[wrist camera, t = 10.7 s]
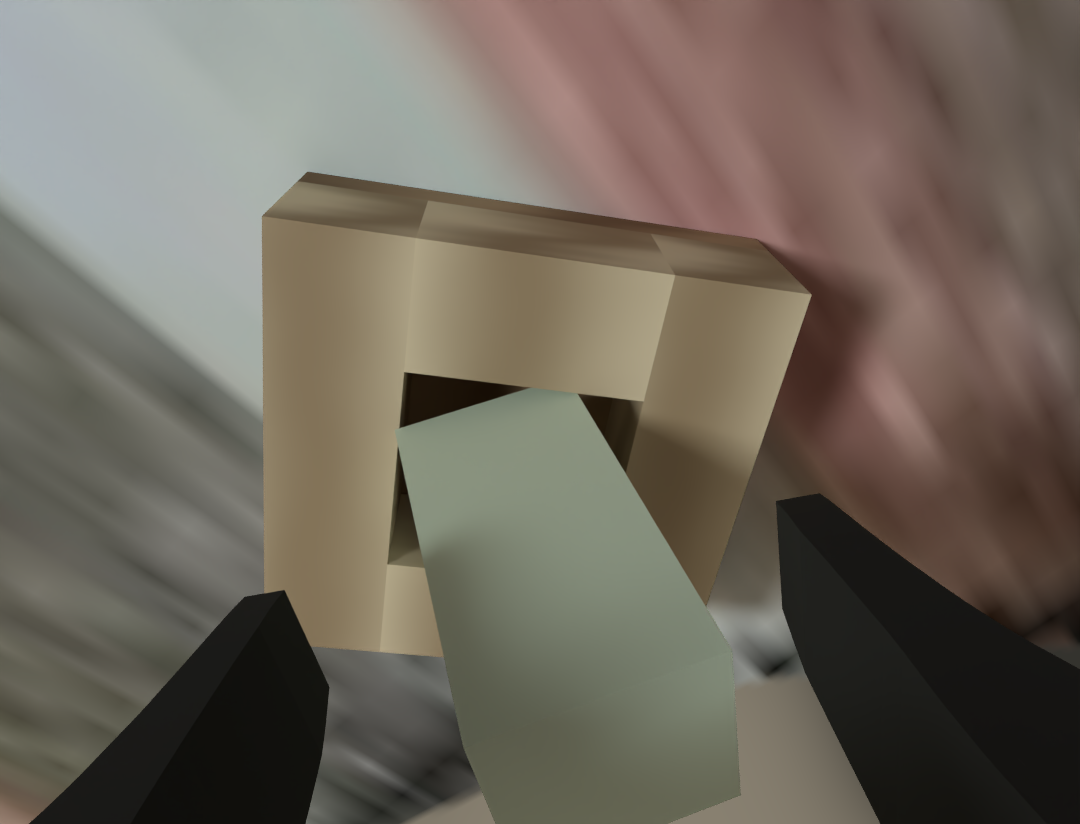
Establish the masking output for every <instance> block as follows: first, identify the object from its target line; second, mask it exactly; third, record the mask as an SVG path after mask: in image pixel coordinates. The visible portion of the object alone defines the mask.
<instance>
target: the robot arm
mask: <svg viewBox="0 0 1080 824" xmlns="http://www.w3.org/2000/svg"><path fill="white" fill-rule="evenodd" d="M776 507H777V524H778V542H779V559H780V576H781V593H782V609H783V612H784V615H785V618H786V620H787V623H788V626H789V629H790V632H791V635H792V638H793V640H794V643H795V646H796V649H797V651H798V654H799V657H800V660H801V662H802V665H803V668H804V670H805V673H806V675H807V677H808V679H809V681H810V684H811V686H812V687H813V690H814V692H815V694H816V695H817V698H818V700H819V702H820V704H821V706H822V708H823V710H824V712H825V714H826V716H827V718H828V720H829V722H830V724H831V726H832V728H833V730H834V732H835V734H836V736H837V738H838V740H839V742H840V744H841V746H842V748H843V750H844V752H845V754H846V756H847V758H848V760H849V762H850V764H851V766H852V768H853V770H854V772H855V774H856V776H857V778H858V780H859V782H860V784H861V786H862V788H863V790H864V792H865V794H866V796H867V798H868V800H869V802H870V804H871V806H872V808H873V810H874V812H875V814H876V816H877V818H878V820H879V822H880V824H1080V669H1078V668H1077V667H1075V666H1073V665H1071V664H1069V663H1067V662H1066V661H1064V660H1062V659H1060V658H1058V657H1056V656H1055V655H1053V654H1051V653H1049V652H1047V651H1046V650H1044V649H1042V648H1040V647H1038V646H1036V645H1035V644H1033V643H1031V642H1029V641H1028V640H1026V639H1024V638H1023V637H1021V636H1019V635H1018V634H1016V633H1014V632H1012V631H1011V630H1009V629H1007V628H1006V627H1004V626H1003V625H1001V624H1000V623H998V622H996V621H995V620H993V619H992V618H990V617H989V616H987V615H985V614H984V613H982V612H981V611H979V610H978V609H976V608H974V607H973V606H971V605H970V604H968V603H967V602H965V601H964V600H962V599H961V598H959V597H958V596H956V595H955V594H954V593H952V592H951V591H949V590H948V589H946V588H945V587H943V586H942V585H941V584H939V583H938V582H936V581H935V580H934V579H932V578H931V577H929V576H928V575H927V574H925V573H924V572H922V571H921V570H920V569H918V568H917V567H915V566H914V565H913V564H911V563H910V562H908V561H907V560H906V559H904V558H903V557H902V556H900V555H899V554H898V553H896V552H895V551H894V550H892V549H891V548H890V547H888V546H887V545H886V544H884V543H883V542H882V541H880V540H879V539H878V538H877V537H875V536H874V535H873V534H871V533H870V532H869V531H867V530H866V529H865V528H864V527H862V526H861V525H860V524H859V523H857V522H856V521H855V520H854V519H852V518H851V517H850V516H848V515H847V514H846V513H845V512H843V511H842V510H841V509H840V508H838V507H837V506H836V505H835V504H833V503H832V502H831V501H829V500H828V499H827V498H825V497H824V496H823V495H821V494H820V493H819V494H813V495H807V496H802V497H796V498H791V499H785V500H780V501H776ZM328 695H329V685H328V683H327V681H326V679H325V677H324V674H323V672H322V670H321V668H320V666H319V664H318V661H317V659H316V657H315V655H314V653H313V651H312V648H311V646H310V644H309V642H308V640H307V638H306V635H305V633H304V631H303V629H302V627H301V625H300V622H299V620H298V618H297V616H296V614H295V611H294V609H293V607H292V605H291V603H290V601H289V598H288V596H287V594H286V592H285V590H281V591H275V592H270V593H264V594H259V595H253V596H247V597H244V598H243V599H242V600H241V601H240V602H239V603H238V604H237V605H236V606H235V607H234V609H233V610H232V611H231V612H230V613H229V614H228V615H227V616H226V617H225V618H224V619H223V620H222V622H221V623H220V624H219V625H218V626H217V627H216V628H215V629H214V631H213V632H212V633H211V634H210V635H209V636H208V637H207V638H206V640H205V641H204V642H203V643H202V644H201V645H200V646H199V648H198V649H197V650H196V651H195V652H194V653H193V654H192V656H191V657H190V658H189V659H188V660H187V661H186V662H185V664H184V665H183V666H182V667H181V668H180V669H179V670H178V671H177V672H176V674H175V675H174V676H173V677H172V678H171V679H170V680H169V681H168V683H167V684H166V685H165V686H164V687H163V688H162V689H161V690H160V691H159V693H158V694H157V695H156V696H155V697H154V698H153V699H152V700H151V702H150V703H149V704H148V705H147V706H146V707H145V708H144V709H143V710H142V711H141V713H140V714H139V715H138V716H137V717H136V718H135V719H134V720H133V721H132V722H131V723H130V724H129V725H128V726H127V727H126V728H125V729H124V730H123V731H122V732H121V733H120V734H119V736H118V737H117V738H116V739H115V740H114V741H113V742H112V743H111V744H110V745H109V746H108V747H107V748H106V749H105V750H104V751H103V752H102V753H101V754H100V755H99V756H98V757H97V758H96V759H95V760H94V762H93V763H92V764H91V765H90V766H89V767H88V768H87V769H86V770H85V771H84V772H83V773H82V774H81V775H80V776H79V777H78V778H77V779H76V780H75V781H74V782H73V783H72V784H71V785H70V786H69V787H68V788H67V789H66V790H65V791H64V792H63V793H62V794H60V795H59V796H58V797H57V798H56V799H55V800H54V801H53V802H52V803H51V804H50V805H49V806H48V807H47V808H46V809H45V810H44V811H42V812H41V813H40V814H39V815H38V816H37V817H36V818H35V819H34V820H33V821H31V822H30V823H29V824H305V823H306V819H307V815H308V811H309V807H310V803H311V799H312V794H313V790H314V786H315V782H316V778H317V774H318V769H319V765H320V760H321V756H322V750H323V742H324V734H325V726H326V716H327V706H328Z"/></svg>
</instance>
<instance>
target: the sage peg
mask: <svg viewBox="0 0 1080 824" xmlns="http://www.w3.org/2000/svg"><path fill="white" fill-rule="evenodd" d="M395 434H396V439H397V443H398V448H399V452H400V457H401V462H402V466H403V471H404V475H405V480H406V485H407V489H408V494H409V499H410V503H411V508H412V512H413V517H414V522H415V526H416V531H417V535H418V540H419V545H420V549H421V554H422V558H423V563H424V568H425V572H426V577H427V582H428V586H429V591H430V595H431V600H432V605H433V609H434V614H435V618H436V623H437V628H438V632H439V637H440V641H441V646H442V651H443V655H444V660H445V665H446V669H447V674H448V678H449V683H450V688H451V692H452V697H453V701H454V706H455V711H456V715H457V720H458V724H459V729H460V734H461V738H462V743H463V748H464V750H465V753H466V755H467V757H468V760H469V762H470V764H471V767H472V769H473V771H474V774H475V776H476V779H477V781H478V783H479V786H480V788H481V790H482V793H483V795H484V797H485V800H486V802H487V804H488V807H489V809H490V812H491V814H492V816H493V819H494V821H495V823H496V824H668V823H670V822H673V821H675V820H678V819H680V818H683V817H686V816H688V815H691V814H693V813H696V812H698V811H701V810H704V809H706V808H709V807H711V806H714V805H717V804H719V803H722V802H724V801H727V800H730V799H732V798H734V797H737V796H740V795H741V793H740V777H739V761H738V743H737V724H736V707H735V690H734V673H733V656H732V649H731V648H730V646H729V644H728V643H727V641H726V639H725V638H724V636H723V634H722V633H721V631H720V629H719V628H718V626H717V624H716V623H715V621H714V619H713V618H712V616H711V615H710V613H709V611H708V610H707V608H706V606H705V605H704V603H703V601H702V600H701V598H700V596H699V595H698V593H697V591H696V590H695V588H694V586H693V585H692V583H691V581H690V580H689V578H688V576H687V575H686V573H685V571H684V570H683V568H682V566H681V565H680V563H679V561H678V560H677V558H676V556H675V555H674V553H673V551H672V550H671V548H670V546H669V545H668V543H667V541H666V540H665V538H664V536H663V535H662V533H661V532H660V530H659V528H658V527H657V525H656V523H655V522H654V520H653V518H652V517H651V515H650V513H649V512H648V510H647V508H646V507H645V505H644V503H643V502H642V500H641V498H640V497H639V495H638V493H637V492H636V490H635V488H634V487H633V485H632V483H631V482H630V480H629V478H628V477H627V475H626V473H625V472H624V470H623V468H622V467H621V465H620V463H619V462H618V460H617V458H616V457H615V455H614V453H613V452H612V450H611V448H610V447H609V445H608V444H607V442H606V440H605V439H604V437H603V435H602V434H601V432H600V430H599V429H598V427H597V425H596V424H595V422H594V420H593V419H592V417H591V415H590V414H589V412H588V410H587V409H586V407H585V405H584V404H583V402H582V400H581V399H580V397H579V395H578V394H577V393H570V392H562V391H554V390H546V389H538V388H528V389H525V390H522V391H518V392H515V393H512V394H509V395H506V396H502V397H499V398H496V399H493V400H489V401H486V402H483V403H480V404H476V405H473V406H470V407H467V408H463V409H460V410H457V411H454V412H451V413H447V414H444V415H441V416H438V417H434V418H431V419H428V420H425V421H421V422H418V423H415V424H412V425H408V426H405V427H402V428H399V429H396V430H395Z"/></svg>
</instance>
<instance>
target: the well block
mask: <svg viewBox="0 0 1080 824" xmlns="http://www.w3.org/2000/svg"><path fill="white" fill-rule="evenodd" d="M262 290H263V451H264V593H270V592H275V591H281V590H285V592H286V594H287V596H288V598H289V601H290V603H291V605H292V607H293V609H294V611H295V614H296V616H297V618H298V620H299V622H300V625H301V627H302V629H303V631H304V633H305V635H306V638H307V640H308V642H309V644H310V646H314V647H327V648H339V649H351V650H363V651H375V652H387V653H399V654H411V655H423V656H435V657H444V655H443V651H442V646H441V641H440V637H439V632H438V628H437V623H436V618H435V614H434V609H433V605H432V600H431V595H430V591H429V586H428V582H427V577H426V572H425V568H424V563H423V558H422V554H421V549H420V545H419V540H418V535H417V531H416V526H415V522H414V517H413V512H412V508H411V503H410V499H409V494H408V489H407V485H406V480H405V475H404V471H403V466H402V462H401V457H400V452H399V448H398V443H397V439H396V434H395V430H396V429H399V428H402V427H405V426H408V425H412V424H415V423H418V422H421V421H425V420H428V419H431V418H434V417H438V416H441V415H444V414H447V413H451V412H454V411H457V410H460V409H463V408H467V407H470V406H473V405H476V404H480V403H483V402H486V401H489V400H493V399H496V398H499V397H502V396H506V395H509V394H512V393H515V392H518V391H522V390H525V389H528V388H538V389H546V390H554V391H562V392H570V393H577V394H578V395H579V397H580V399H581V400H582V402H583V404H584V405H585V407H586V409H587V410H588V412H589V414H590V415H591V417H592V419H593V420H594V422H595V424H596V425H597V427H598V429H599V430H600V432H601V434H602V435H603V437H604V439H605V440H606V442H607V444H608V445H609V447H610V448H611V450H612V452H613V453H614V455H615V457H616V458H617V460H618V462H619V463H620V465H621V467H622V468H623V470H624V472H625V473H626V475H627V477H628V478H629V480H630V482H631V483H632V485H633V487H634V488H635V490H636V492H637V493H638V495H639V497H640V498H641V500H642V502H643V503H644V505H645V507H646V508H647V510H648V512H649V513H650V515H651V517H652V518H653V520H654V522H655V523H656V525H657V527H658V528H659V530H660V532H661V533H662V535H663V536H664V538H665V540H666V541H667V543H668V545H669V546H670V548H671V550H672V551H673V553H674V555H675V556H676V558H677V560H678V561H679V563H680V565H681V566H682V568H683V570H684V571H685V573H686V575H687V576H688V578H689V580H690V581H691V583H692V585H693V586H694V588H695V590H696V591H697V593H698V595H699V596H700V598H701V600H702V601H703V603H704V605H705V606H706V605H707V602H708V599H709V596H710V593H711V590H712V587H713V585H714V582H715V579H716V576H717V573H718V570H719V567H720V564H721V561H722V558H723V555H724V552H725V549H726V546H727V543H728V540H729V537H730V534H731V531H732V528H733V526H734V523H735V520H736V517H737V514H738V511H739V508H740V505H741V502H742V499H743V496H744V493H745V490H746V487H747V484H748V481H749V478H750V475H751V472H752V470H753V467H754V464H755V461H756V458H757V455H758V452H759V449H760V446H761V443H762V440H763V437H764V434H765V431H766V428H767V425H768V422H769V419H770V416H771V414H772V411H773V408H774V405H775V402H776V399H777V396H778V393H779V390H780V387H781V384H782V381H783V378H784V375H785V372H786V369H787V366H788V363H789V360H790V358H791V355H792V352H793V349H794V346H795V343H796V340H797V337H798V334H799V331H800V328H801V325H802V322H803V319H804V316H805V313H806V310H807V307H808V304H809V302H810V299H811V296H812V294H811V293H810V292H809V291H808V290H807V289H806V288H805V287H804V286H803V285H802V284H801V283H800V282H799V281H798V280H797V279H796V278H795V277H794V276H793V275H792V274H791V273H790V272H789V271H788V270H787V269H786V268H785V267H784V266H783V265H782V264H781V263H780V262H779V261H778V260H777V259H776V258H775V257H774V256H773V255H772V254H771V253H770V252H769V251H768V250H767V249H766V248H765V247H764V246H763V245H762V244H761V243H760V242H759V241H758V240H757V239H752V238H745V237H739V236H732V235H725V234H719V233H712V232H705V231H699V230H692V229H685V228H679V227H672V226H665V225H659V224H652V223H645V222H639V221H632V220H625V219H619V218H612V217H605V216H599V215H592V214H585V213H579V212H572V211H565V210H559V209H552V208H545V207H539V206H532V205H525V204H519V203H512V202H505V201H499V200H492V199H485V198H479V197H472V196H465V195H459V194H452V193H445V192H439V191H432V190H425V189H419V188H412V187H405V186H399V185H392V184H385V183H379V182H372V181H365V180H359V179H352V178H345V177H339V176H332V175H325V174H319V173H312V172H307V173H306V174H305V175H304V176H303V177H302V178H301V179H300V180H299V181H298V182H296V183H295V184H294V185H293V186H292V187H291V188H290V189H289V190H288V191H287V192H286V193H285V194H284V195H283V196H282V197H281V198H280V199H279V200H278V201H277V202H276V203H275V204H274V205H273V206H272V207H271V208H270V209H269V210H268V211H267V212H266V213H265V214H264V215H263V216H262Z"/></svg>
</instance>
